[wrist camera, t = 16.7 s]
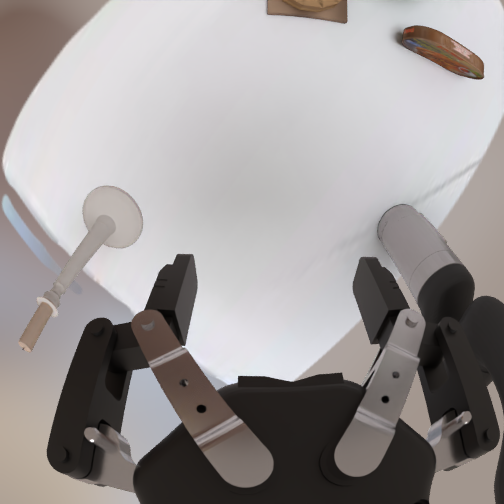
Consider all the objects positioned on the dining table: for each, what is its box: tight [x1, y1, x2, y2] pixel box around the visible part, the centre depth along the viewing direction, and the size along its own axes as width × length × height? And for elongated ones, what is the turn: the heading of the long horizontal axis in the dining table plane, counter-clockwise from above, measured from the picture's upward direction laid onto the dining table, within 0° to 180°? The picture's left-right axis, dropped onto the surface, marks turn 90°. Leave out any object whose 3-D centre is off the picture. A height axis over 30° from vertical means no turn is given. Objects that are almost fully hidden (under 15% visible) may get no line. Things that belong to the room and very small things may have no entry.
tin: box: [402, 26, 484, 80], centre depth 23 cm, size 15×3×8 cm, turn 83°
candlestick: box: [19, 186, 143, 352], centre depth 33 cm, size 13×13×30 cm
